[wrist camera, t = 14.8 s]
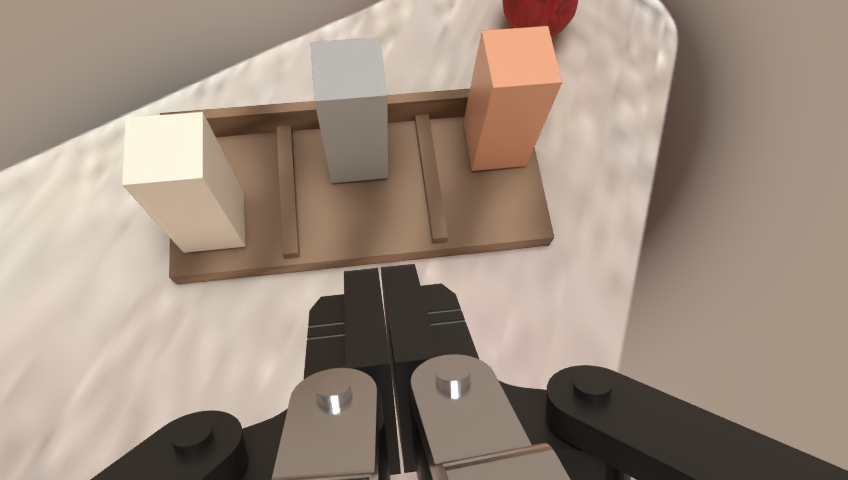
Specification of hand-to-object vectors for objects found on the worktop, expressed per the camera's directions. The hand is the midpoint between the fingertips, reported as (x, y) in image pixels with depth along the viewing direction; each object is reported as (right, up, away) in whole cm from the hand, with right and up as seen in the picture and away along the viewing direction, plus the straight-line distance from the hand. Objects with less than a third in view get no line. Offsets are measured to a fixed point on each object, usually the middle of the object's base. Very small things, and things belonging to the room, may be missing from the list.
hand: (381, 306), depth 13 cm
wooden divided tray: (-4, +5, +32) cm, 32 cm away
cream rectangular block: (-13, +3, +28) cm, 31 cm away
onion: (+10, +19, +38) cm, 44 cm away
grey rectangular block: (-4, +7, +31) cm, 32 cm away
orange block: (+6, +8, +32) cm, 33 cm away
